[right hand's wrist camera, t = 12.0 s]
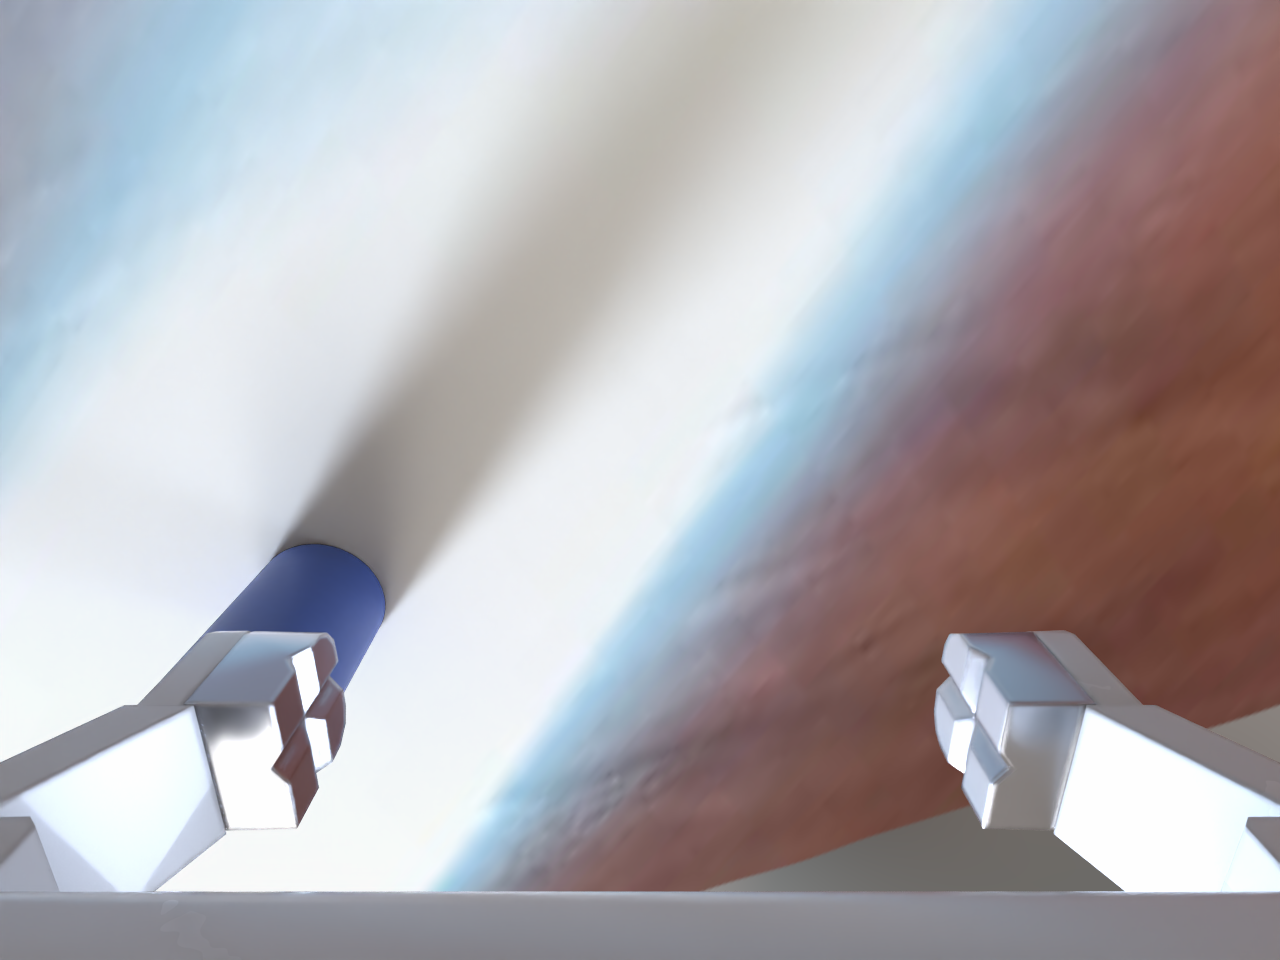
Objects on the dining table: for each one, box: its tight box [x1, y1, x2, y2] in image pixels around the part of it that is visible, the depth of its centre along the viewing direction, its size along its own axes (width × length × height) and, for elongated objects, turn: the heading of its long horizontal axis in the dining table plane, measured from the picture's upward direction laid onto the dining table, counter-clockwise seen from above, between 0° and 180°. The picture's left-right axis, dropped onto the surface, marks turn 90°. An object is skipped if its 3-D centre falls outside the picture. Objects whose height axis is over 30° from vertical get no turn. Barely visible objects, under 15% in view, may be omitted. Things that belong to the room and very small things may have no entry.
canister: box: [166, 544, 385, 692], centre depth 31 cm, size 6×6×8 cm
